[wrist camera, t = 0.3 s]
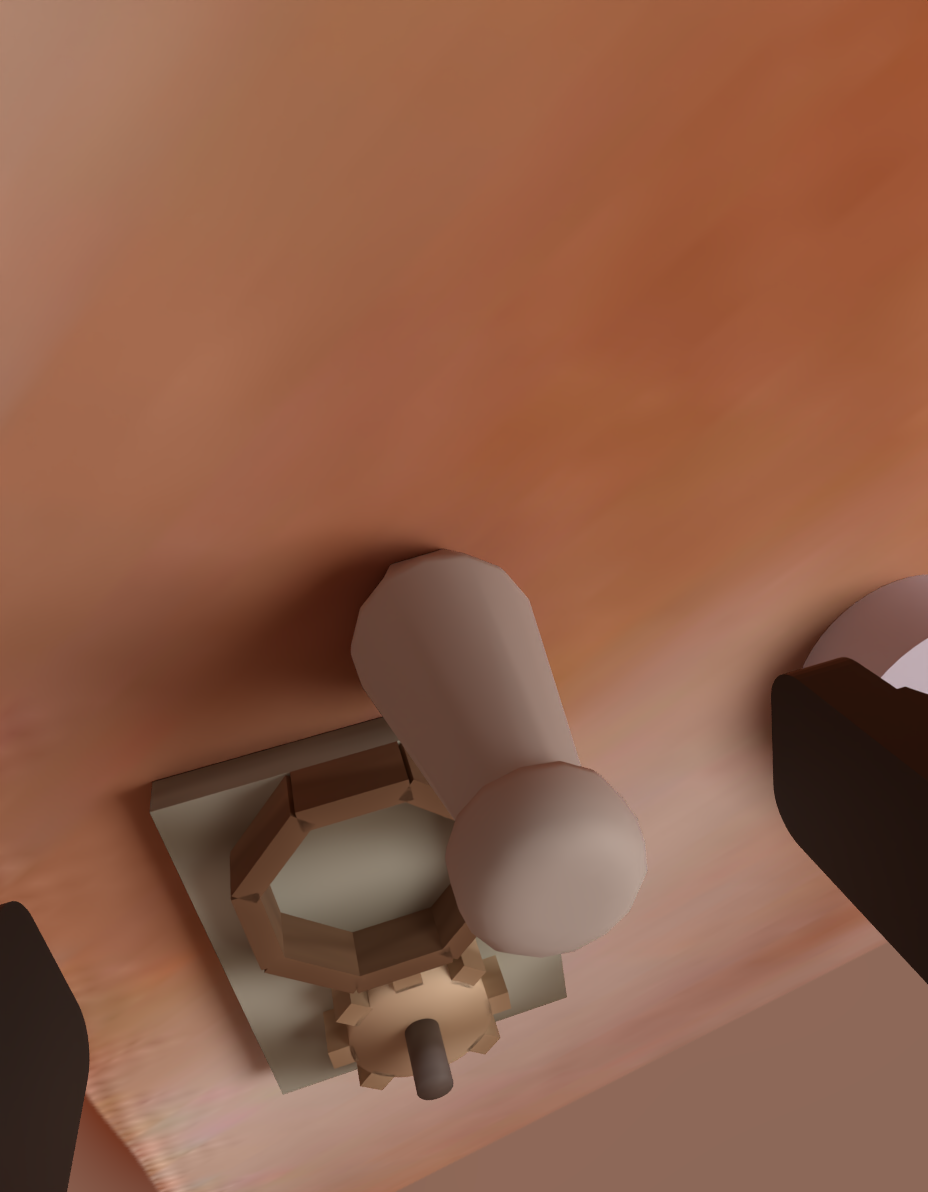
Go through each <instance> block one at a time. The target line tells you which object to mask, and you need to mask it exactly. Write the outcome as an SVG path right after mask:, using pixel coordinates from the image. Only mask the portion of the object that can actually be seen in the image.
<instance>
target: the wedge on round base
mask: <svg viewBox="0 0 928 1192" xmlns="http://www.w3.org/2000/svg"><path fill="white" fill-rule="evenodd" d="M840 657H847V658H850V659H853V660H855V661H856V662H858V663H859V664H861V665H862V666H864V667H865V668H867V669H868V670H870V671H871V672H873V673H874V674H876V675H877V676H879V677H880V678H882V679H883V680H885V681H886V682H888V683H889V684H891V685H892V686H893V687H895V688H896V689H898V688H902V687H908V688H911V689H914V690H917V691H920V692H923V693H926V694H928V575H919V576H913V577H908V578H904V579H901V580H898V581H895V582H892V583H890V584H887V585H885V586H883V587H881V588H879V589H877V590H875V591H873V592H871V593H869V594H868V595H866V596H865V597H863V598H862V599H860V600H859V601H857V602H856V603H855V604H853V605H852V606H851V607H850V608H848V609H847V610H846V611H845V612H843V613H842V614H841V615H840V616H839V617H838V618H837V619H836V620H835V621H834V622H833V623H832V624H831V625H830V626H829V628H828V629H827V630H826V631H825V632H824V633H823V635H822V636H821V637H820V639H819V640H818V641H817V643H816V644H815V646H814V647H813V649H812V650H811V652H810V654H809V656H808V658H807V659H806V661H805V663H804V666H803V668H806V667H809V666H812V665H816V664H819V663H823V662H826V661H829V660H833V659H836V658H840Z"/></svg>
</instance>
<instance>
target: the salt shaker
mask: <svg viewBox="0 0 928 1192" xmlns="http://www.w3.org/2000/svg"><path fill="white" fill-rule="evenodd" d="M351 656H352V659H353V662H354V665H355V668H356V670H357V673H358V676H359V679H360V682H361V685H362V687H363V689H364V690H365V692H366V693H367V695H368V696H369V697H370V699H371V700H372V702H373V703H374V705H375V706H376V708H377V709H378V710H379V712H380V713H381V715H382V716H383V718H384V719H385V721H386V722H387V723H388V725H389V726H390V728H391V729H392V731H393V732H394V734H395V735H396V736H397V738H398V739H399V741H400V742H401V744H402V745H403V747H404V748H405V749H406V751H407V752H408V754H409V755H410V757H411V758H412V760H413V761H414V762H415V764H416V765H417V767H418V768H419V770H420V771H421V773H422V774H423V775H424V777H425V778H426V780H427V781H428V783H429V784H430V786H431V787H432V788H433V790H434V791H435V793H436V794H437V796H438V797H439V799H440V800H441V802H442V803H443V804H444V806H445V807H446V809H447V810H448V812H449V813H450V815H451V816H452V817H453V819H454V820H455V823H454V826H453V829H452V832H451V835H450V838H449V841H448V844H447V848H446V855H445V861H446V866H447V870H448V875H449V879H450V883H451V886H452V889H453V893H454V896H455V899H456V902H457V905H458V909H459V911H460V913H461V915H462V917H463V918H464V920H465V922H466V924H467V926H468V927H469V929H470V931H471V933H473V934H474V935H475V936H477V937H478V938H479V939H481V940H482V941H483V942H484V943H486V944H487V945H488V946H490V947H491V948H492V949H494V950H495V951H499V952H504V953H509V954H515V955H523V956H531V957H538V958H543V957H548V956H553V955H558V954H563V953H568V952H573V951H576V950H578V949H580V948H581V947H583V946H585V945H587V944H589V943H591V942H593V941H594V940H596V939H598V938H600V937H602V936H604V935H606V934H607V933H608V932H609V931H610V930H611V929H612V928H613V927H614V926H615V925H616V924H617V923H618V922H619V921H620V920H621V919H622V918H623V917H624V916H625V915H626V914H627V913H628V912H629V911H630V909H631V907H632V905H633V902H634V900H635V898H636V896H637V893H638V891H639V889H640V886H641V884H642V882H643V880H644V877H645V875H646V873H647V871H648V870H647V859H646V848H645V840H644V837H643V834H642V831H641V829H640V826H639V823H638V820H637V817H636V816H635V814H634V813H633V812H632V810H631V809H630V807H629V806H628V804H627V803H626V801H625V800H624V799H623V797H622V796H621V795H620V794H619V793H618V792H617V791H616V790H615V789H614V788H613V787H612V786H611V785H610V784H609V783H608V782H607V781H606V780H605V779H604V778H603V777H602V776H601V775H599V774H598V773H596V772H595V771H594V770H591V769H588V768H584V767H581V764H580V761H579V757H578V754H577V751H576V748H575V745H574V742H573V738H572V735H571V732H570V729H569V726H568V722H567V719H566V716H565V713H564V710H563V706H562V703H561V700H560V697H559V694H558V691H557V687H556V684H555V681H554V678H553V675H552V671H551V668H550V665H549V662H548V659H547V655H546V652H545V649H544V646H543V643H542V640H541V636H540V633H539V630H538V627H537V624H536V620H535V617H534V614H533V611H532V608H531V604H530V601H529V599H528V598H527V597H526V595H525V594H524V593H523V592H522V591H521V590H520V588H519V587H518V586H517V585H516V584H515V583H514V582H513V580H512V579H511V578H510V577H509V576H508V575H507V573H506V572H505V571H504V570H502V569H501V568H500V567H499V566H497V565H494V564H491V563H489V562H486V561H483V560H481V559H478V558H475V557H473V556H470V555H467V554H465V553H461V552H456V551H452V550H447V549H441V550H438V551H435V552H431V553H428V554H424V555H421V556H418V557H414V558H411V559H407V560H404V561H401V562H397V563H394V564H390V566H389V568H388V570H387V572H386V574H385V576H384V578H383V579H382V581H381V582H380V583H379V585H378V586H377V587H376V588H375V590H374V591H373V592H372V593H371V595H370V596H369V597H368V599H367V600H366V601H365V602H364V604H363V605H362V606H361V608H360V611H359V615H358V619H357V623H356V627H355V631H354V635H353V639H352V643H351Z"/></svg>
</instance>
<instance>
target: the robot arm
mask: <svg viewBox="0 0 928 1192" xmlns="http://www.w3.org/2000/svg"><path fill="white" fill-rule="evenodd" d="M771 707H772V746H773V785H774V794H775V799H776V803H777V806H778V809H779V812H780V815H781V817H782V819H783V822H784V824H785V826H786V828H787V829H788V831H789V833H790V834H791V836H792V837H793V839H794V840H795V841H796V843H797V844H798V845H799V846H800V847H801V848H802V849H803V850H804V851H805V853H806V854H807V855H808V856H809V857H810V858H811V859H812V860H813V861H814V862H815V863H816V864H817V865H818V867H819V868H820V869H821V870H822V871H823V872H824V873H825V874H826V875H827V876H828V877H829V878H830V879H831V881H832V882H833V883H834V884H835V885H836V886H837V887H838V888H839V889H840V890H841V891H842V892H843V893H844V895H845V896H846V897H847V898H848V899H849V900H850V901H851V902H852V903H853V904H854V905H855V906H856V907H857V909H858V910H859V911H860V912H861V913H862V914H863V915H864V916H865V917H866V918H867V919H868V920H869V921H870V923H871V924H872V925H873V926H874V927H875V928H876V929H877V930H878V931H879V932H880V933H881V934H882V935H883V937H884V938H885V939H886V940H887V941H888V942H889V943H890V944H891V945H892V946H893V947H894V948H895V949H896V951H897V952H898V953H899V954H900V955H901V956H902V957H903V958H904V959H905V960H906V961H907V962H908V963H909V964H910V966H911V967H912V968H913V969H914V970H915V971H916V972H917V973H918V974H919V975H920V976H921V977H922V978H923V980H924V981H925V982H926V983H927V984H928V694H926V693H923V692H920V691H917V690H914V689H911V688H908V687H902V688H898V689H896V688H895V687H893V686H892V685H891V684H889V683H888V682H886V681H885V680H883V679H882V678H880V677H879V676H877V675H876V674H874V673H873V672H871V671H870V670H868V669H867V668H865V667H864V666H862V665H861V664H859V663H858V662H856V661H855V660H853V659H850V658H847V657H840V658H836V659H833V660H829V661H826V662H823V663H819V664H816V665H812V666H809V667H806V668H802V669H799V670H796V671H792V672H789V673H786V674H782V675H780V676H778V677H777V678H776V679H775V681H774V683H773V686H772V691H771ZM88 1073H89V1043H88V1035H87V1030H86V1025H85V1021H84V1018H83V1015H82V1012H81V1009H80V1007H79V1005H78V1003H77V1001H76V999H75V997H74V995H73V993H72V992H71V990H70V988H69V986H68V984H67V982H66V980H65V978H64V976H63V975H62V973H61V971H60V969H59V967H58V965H57V963H56V961H55V959H54V958H53V956H52V954H51V952H50V950H49V948H48V946H47V944H46V942H45V940H44V939H43V937H42V935H41V933H40V931H39V929H38V927H37V925H36V923H35V922H34V920H33V918H32V916H31V914H30V913H29V911H28V910H27V909H26V908H25V907H24V906H23V905H22V904H21V903H19V902H16V901H11V902H8V903H5V904H1V905H0V1192H67V1188H68V1183H69V1177H70V1172H71V1166H72V1161H73V1155H74V1150H75V1144H76V1139H77V1134H78V1129H79V1123H80V1118H81V1112H82V1107H83V1101H84V1096H85V1091H86V1085H87V1080H88Z"/></svg>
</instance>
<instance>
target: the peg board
mask: <svg viewBox="0 0 928 1192" xmlns="http://www.w3.org/2000/svg"><path fill="white" fill-rule="evenodd" d="M150 814H151V816H152V818H153V821H154V823H155V825H156V827H157V829H158V831H159V833H160V835H161V838H162V840H163V842H164V844H165V846H166V848H167V850H168V852H169V854H170V857H171V859H172V861H173V863H174V865H175V867H176V869H177V871H178V873H179V876H180V878H181V880H182V882H183V884H184V886H185V888H186V890H187V893H188V895H189V897H190V899H191V901H192V903H193V905H194V907H195V909H196V912H197V914H198V916H199V918H200V920H201V922H202V924H203V926H204V929H205V931H206V933H207V935H208V937H209V939H210V941H211V943H212V945H213V948H214V950H215V952H216V954H217V956H218V958H219V960H220V962H221V964H222V967H223V969H224V971H225V973H226V975H227V977H228V979H229V981H230V984H231V986H232V988H233V990H234V992H235V994H236V996H237V998H238V1000H239V1003H240V1005H241V1007H242V1009H243V1011H244V1013H245V1015H246V1017H247V1019H248V1022H249V1024H250V1026H251V1028H252V1030H253V1032H254V1034H255V1036H256V1039H257V1041H258V1043H259V1045H260V1047H261V1049H262V1051H263V1053H264V1055H265V1058H266V1060H267V1062H268V1064H269V1066H270V1068H271V1070H272V1072H273V1074H274V1077H275V1079H276V1081H277V1083H278V1085H279V1087H280V1089H281V1091H282V1094H283V1095H284V1094H286V1093H289V1092H292V1091H295V1090H298V1089H301V1088H304V1087H307V1086H310V1085H313V1084H316V1083H318V1082H321V1081H324V1080H327V1079H330V1078H333V1077H336V1076H339V1075H342V1074H345V1073H348V1072H351V1071H353V1070H356V1069H358V1075H359V1081H360V1086H362V1087H368V1088H373V1089H379V1090H383V1089H384V1088H385V1087H386V1086H387V1084H388V1083H389V1082H390V1081H391V1080H392V1079H393V1078H394V1077H409V1076H414V1081H415V1086H416V1090H417V1095H418V1096H419V1097H420V1098H421V1099H424V1100H434V1099H437V1098H440V1097H442V1096H444V1095H446V1094H447V1093H448V1092H449V1091H450V1090H451V1089H452V1087H453V1079H452V1075H451V1071H450V1067H449V1064H450V1063H452V1062H454V1061H456V1060H457V1059H459V1058H461V1057H462V1056H463V1055H465V1054H466V1053H467V1052H469V1051H472V1052H476V1053H481V1054H486V1053H487V1052H488V1051H489V1050H490V1048H491V1047H492V1046H493V1045H494V1044H495V1043H496V1042H497V1041H498V1040H499V1039H500V1035H499V1032H498V1029H497V1025H496V1021H499V1020H502V1019H505V1018H508V1017H511V1016H514V1015H517V1014H519V1013H522V1012H525V1011H528V1010H531V1009H534V1008H537V1007H540V1006H543V1005H546V1004H549V1003H552V1002H554V1001H557V1000H560V999H563V998H566V997H567V995H566V988H565V980H564V973H563V966H562V959H561V954H558V955H553V956H548V957H543V958H538V957H531V956H523V955H515V954H509V953H504V952H499V951H495V950H494V949H492V948H491V947H490V946H488V945H487V944H486V943H484V942H483V941H482V940H481V939H479V938H478V937H477V936H475V935H474V934H473V933H471V931H470V929H469V927H468V926H467V924H466V922H465V920H464V918H463V917H462V915H461V913H460V911H459V909H458V905H457V902H456V899H455V896H454V893H453V889H452V886H451V883H450V879H449V875H448V870H447V866H446V861H445V855H446V848H447V844H448V841H449V838H450V835H451V832H452V829H453V826H454V823H455V820H454V819H453V817H452V816H451V815H450V813H449V812H448V810H447V809H446V807H445V806H444V804H443V803H442V802H441V800H440V799H439V797H438V796H437V794H436V793H435V791H434V790H433V788H432V787H431V786H430V784H429V783H428V781H427V780H426V778H425V777H424V775H423V774H422V773H421V771H420V770H419V768H418V767H417V765H416V764H415V762H414V761H413V760H412V758H411V757H410V755H409V754H408V752H407V751H406V749H405V748H404V747H403V745H402V744H401V742H400V741H399V739H398V738H397V736H396V735H395V734H394V732H393V731H392V729H391V728H390V726H389V725H388V723H387V722H386V721H385V719H384V718H383V717H381V718H378V719H374V720H371V721H367V722H364V723H360V724H356V725H353V726H349V727H346V728H342V729H339V730H335V731H332V732H328V733H325V734H321V735H317V736H314V737H310V738H307V739H303V740H300V741H296V742H293V743H289V744H286V745H282V746H279V747H275V748H271V749H268V750H264V751H261V752H257V753H254V754H250V755H247V756H243V757H240V758H236V759H232V760H229V761H225V762H222V763H218V764H215V765H211V766H208V767H204V768H201V769H197V770H194V771H190V772H186V773H183V774H179V775H176V776H172V777H169V778H165V779H162V780H158V781H155V782H152V791H151V802H150Z"/></svg>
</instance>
